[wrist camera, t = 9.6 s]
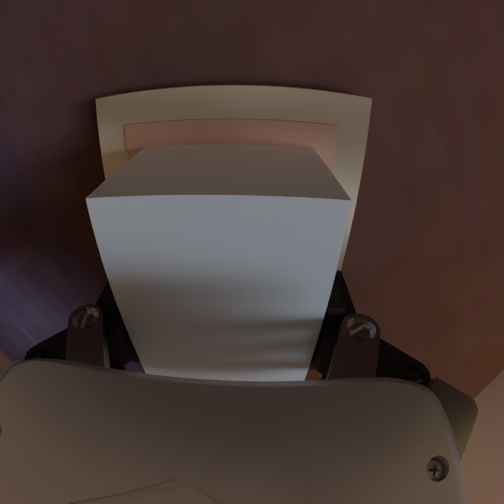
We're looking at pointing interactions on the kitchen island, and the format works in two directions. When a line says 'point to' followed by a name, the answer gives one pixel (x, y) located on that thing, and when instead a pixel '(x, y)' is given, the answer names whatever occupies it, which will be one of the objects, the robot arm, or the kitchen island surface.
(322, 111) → the pin block
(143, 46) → the kitchen island surface
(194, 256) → the block
